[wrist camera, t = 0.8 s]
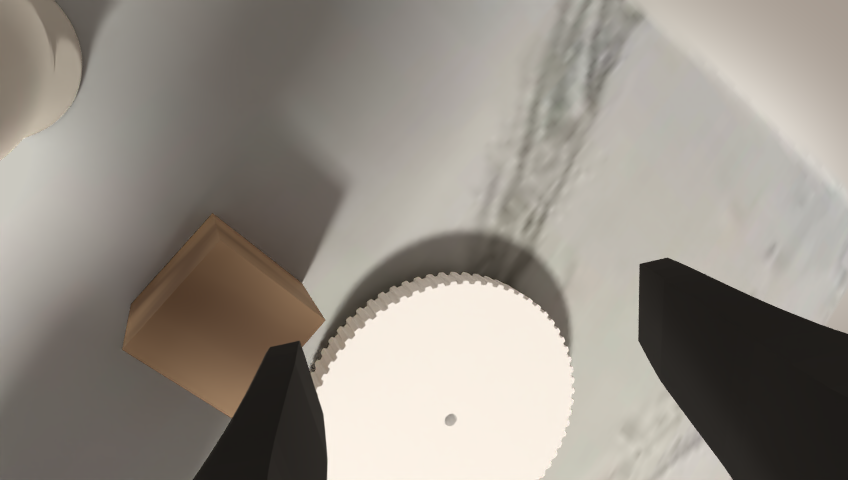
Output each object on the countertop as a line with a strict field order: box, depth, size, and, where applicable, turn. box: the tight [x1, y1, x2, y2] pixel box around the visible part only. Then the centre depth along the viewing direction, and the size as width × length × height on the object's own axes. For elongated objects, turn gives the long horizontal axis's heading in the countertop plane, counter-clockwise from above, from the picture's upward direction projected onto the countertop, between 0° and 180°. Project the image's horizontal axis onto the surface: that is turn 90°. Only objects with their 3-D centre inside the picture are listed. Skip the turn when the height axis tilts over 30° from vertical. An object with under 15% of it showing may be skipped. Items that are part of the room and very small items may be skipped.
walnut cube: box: [122, 213, 325, 418], centre depth 25 cm, size 5×5×5 cm
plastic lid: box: [310, 272, 574, 480], centre depth 32 cm, size 14×14×2 cm
